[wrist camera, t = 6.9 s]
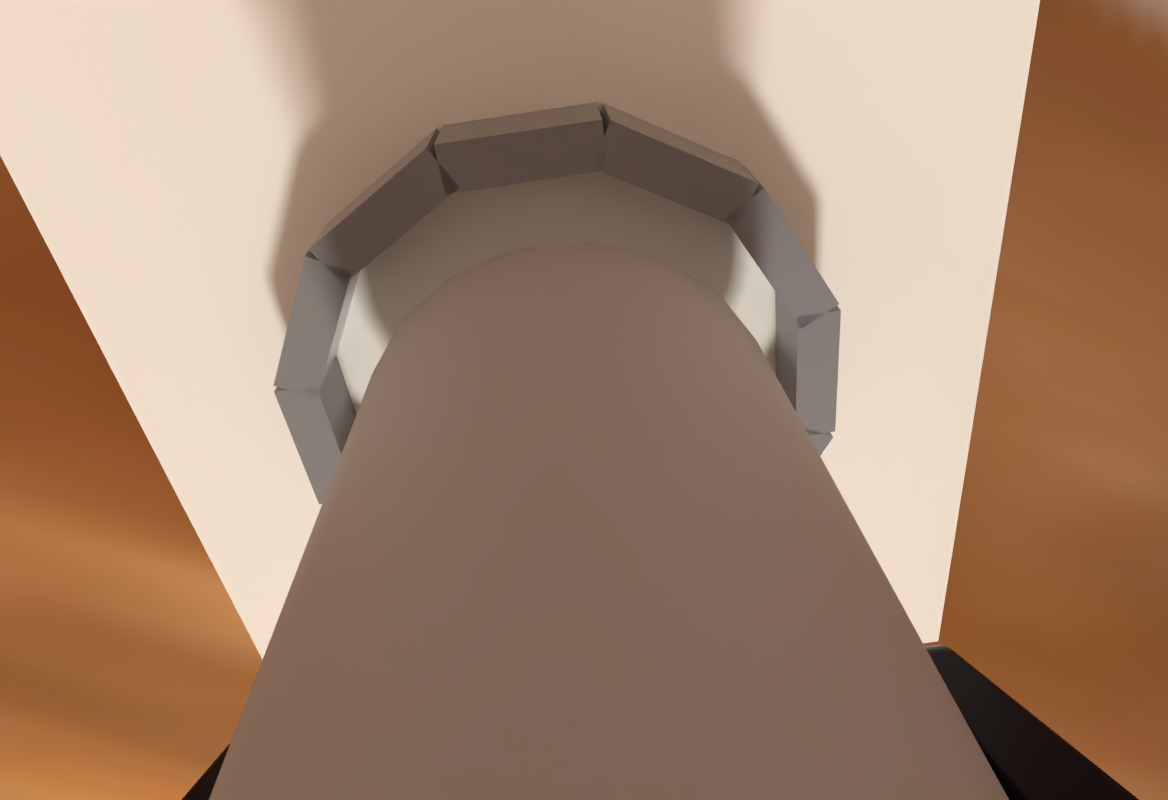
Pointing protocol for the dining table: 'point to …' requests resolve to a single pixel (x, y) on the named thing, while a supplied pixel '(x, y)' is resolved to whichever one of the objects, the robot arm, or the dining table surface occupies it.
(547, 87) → the platter
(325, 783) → the can
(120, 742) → the dining table surface
